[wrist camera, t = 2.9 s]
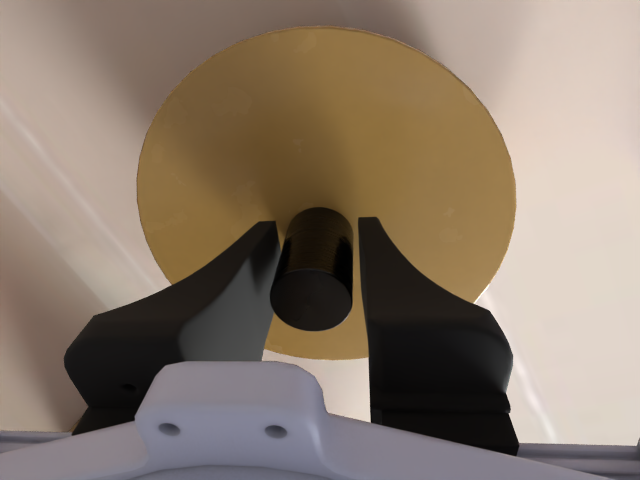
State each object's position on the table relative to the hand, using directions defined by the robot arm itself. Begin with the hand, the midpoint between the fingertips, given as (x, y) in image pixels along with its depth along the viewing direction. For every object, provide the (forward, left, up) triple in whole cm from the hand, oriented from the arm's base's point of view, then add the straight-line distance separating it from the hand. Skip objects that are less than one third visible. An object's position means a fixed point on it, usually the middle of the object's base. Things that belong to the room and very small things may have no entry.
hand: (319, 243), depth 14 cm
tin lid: (0, 0, -1) cm, 1 cm away
